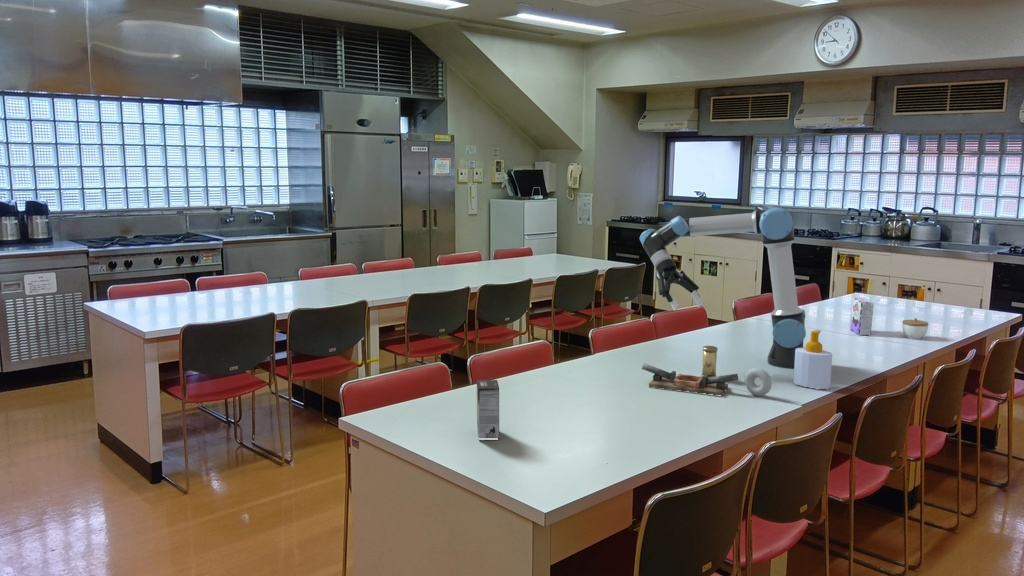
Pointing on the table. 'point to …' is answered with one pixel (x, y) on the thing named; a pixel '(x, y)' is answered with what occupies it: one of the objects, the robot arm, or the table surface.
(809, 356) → the soap bottle
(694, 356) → the table surface
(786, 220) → the robot arm
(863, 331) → the candy box
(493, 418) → the coffee box
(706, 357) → the cylinder
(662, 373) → the shaft stand
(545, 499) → the table surface
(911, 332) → the lidded jar
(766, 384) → the donut
